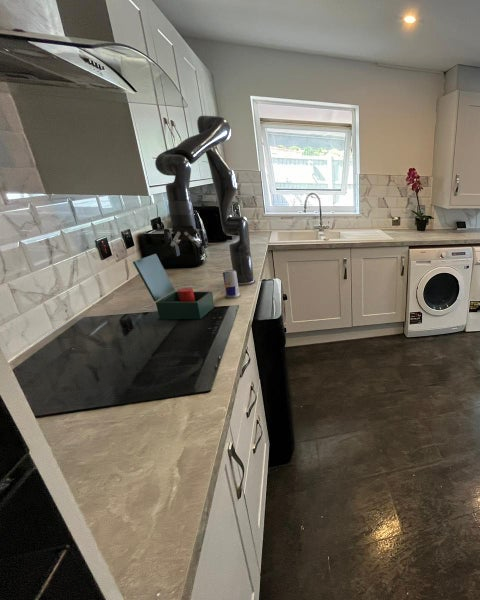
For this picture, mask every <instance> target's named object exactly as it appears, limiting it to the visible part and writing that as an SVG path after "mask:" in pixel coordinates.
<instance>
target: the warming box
mask: <svg viewBox="0 0 480 600" xmlns="http://www.w3.org/2000/svg"><path fill="white" fill-rule="evenodd" d="M193 292H194V297H195V302H180V299H179V295H178V290H177V291H176V290H174V291H173V292H171V293H169V294H167V295H166V296H164V297H162V298H161V299H159V300H157V301H155V305H156V311H157V313H158V314H157V315H158V317H159V320H202V318H204V317H205V316H206V315H207V314H209V312H211V311H212V310H213V309H214V308H215V307H216V306H215V301H214V293H213V291H193Z"/></svg>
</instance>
